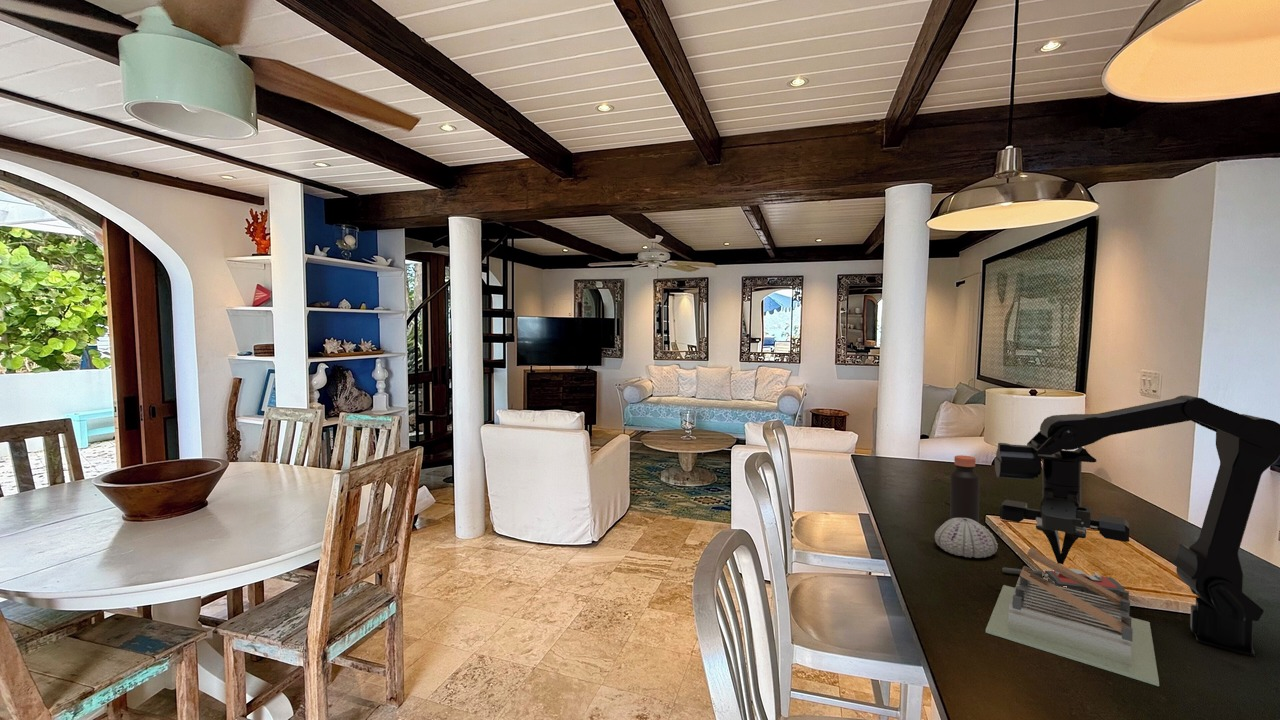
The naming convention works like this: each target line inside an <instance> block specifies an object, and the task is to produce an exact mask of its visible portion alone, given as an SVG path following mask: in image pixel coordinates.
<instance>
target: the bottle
mask: <svg viewBox="0 0 1280 720" xmlns="http://www.w3.org/2000/svg"><path fill="white" fill-rule="evenodd" d="M953 459H954V460H953V461H954V462H953V464H954V467H955V469H954V470H953V471H951V472H950V479H949V480H950V481H949V482H950V486H949V488H950V489H949V490H950V496H949V497H950V499H949V500H950V502H949V503H950V504H949V506H950V507H949V512H950V513H949V520H950V519H952V518H969V519H972V520H974V521H976V522H978V523H979V524H980V476H979V475H978V474H977V473H976V472H975V468H976V458H975V456H970V455H964V454H963V455H961V454H960V455H955V456H954V457H953Z"/></svg>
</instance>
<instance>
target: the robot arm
mask: <svg viewBox="0 0 1280 720" xmlns="http://www.w3.org/2000/svg"><path fill="white" fill-rule="evenodd" d="M1190 421H1191V422H1193V423H1195V424H1197V425H1199V426H1201V427H1203V428H1205V429H1208V430H1210V431H1212V432H1215V447H1216V451H1217V455H1218V459H1219V467H1218V471H1217V474H1216V477H1215V482H1214V485H1213V487H1212V492H1211V495H1210V499H1209V502H1208V505H1207V510H1206V511H1205V512H1206V513H1205V516H1204V519H1203V522H1202V527H1201V529H1200V533H1199V537H1198V538H1197V540H1196V541H1195V542H1194V543H1193V544H1192V545H1190V546H1187V545H1185V544H1182V543H1181V544H1180V543H1179V544H1178V547H1177V556H1176V558H1175V559H1174V561H1173V562H1172V565H1174V566H1175V567H1176V569H1175V570H1176V575H1177V576H1178V577H1179V579H1180V580H1181V581H1182V582H1183V583H1184V584H1186V585H1187V586H1188V587H1189V589H1190V591H1191V592H1192V594H1194V595H1196V596H1195V605H1194V604H1192V605H1190V624H1189V625H1190V626H1189V627H1190V630H1191V633H1192V634H1194V636H1195V639H1196V641H1197V642H1199V643H1201V644H1204V645H1209V646H1212V647H1217V648H1219V649H1224V650H1228V651H1232V652H1236V653H1239V654H1243V655H1247V656H1251V657H1256V652H1255V650H1254V648H1253V640H1254V639H1253V638H1254V637H1253V633H1254V622H1259V620H1260V619H1261V617H1262V616H1263V614H1264V609H1263V608H1262V607H1261V606H1259V605H1258V604H1257V603H1256V602H1255V601H1254V600H1252V599H1251V598H1250V597H1249V596H1247V595H1246V594H1245V593H1244V572H1243V568H1242V563H1241V560H1240V556H1239V555H1240V554H1239V553H1240V552H1239V551H1240V549H1241V545H1242V541H1243V538H1244V534H1245V531H1246V528H1247V524H1248V523H1249V519H1250V514H1251V511H1252V507H1253V505H1254V502H1255V498H1256V495H1257V492H1258V488H1259V485H1260V481H1261V478H1262V475H1263V474H1264V472H1265V471H1267V470H1268V469H1269V468H1270V467H1271V466H1272V465H1274V464H1275V463H1276V462H1277V461H1278V460H1279V459H1280V423H1278V422H1276V421H1274V420H1271V419H1267V418H1263V417H1259V416H1254V415H1248V414H1246V413H1245V414H1244V413H1239V412H1236V411H1234V410H1231V409H1227V408H1225V407H1222V406H1220V405H1217V404H1214V403H1212V402H1209V401H1208V400H1207V399H1206V398H1205V399H1204V398H1202V397H1198V396H1197V397H1196V396H1191V395H1187V394H1185V395H1179V396H1176V397H1175V398H1170V399H1169V398H1168V399H1165V400H1160V401H1155V402H1154V401H1153V402H1150V403H1144V404H1140V405H1135V406H1129V407H1125V408H1124V407H1123V408H1119V409H1114V410H1109V411H1105V412H1099V413H1071V414H1055V415H1051V416H1050V415H1049V416H1047V417H1045V418H1044V419H1043V421H1042V422H1041V423H1040V427H1039V431H1038V432H1037V433H1036V434H1035V435H1034V436H1033V437H1032V438H1031V439H1030V440H1029V441H1028V442H1027V444H1026V445H1025V444H1023V445H1022V444H1012V443H1006V442H998V444H997V449H996V454H995V456H994V470H995V474H996V475H995V476H996V477H997V478H1000V479H1011V480H1021V481H1022V480H1024V481H1034V480H1035V478H1036V479H1037V478H1039V476H1040V475H1041V473H1042V478H1041V480H1042V482H1041V484H1042V490H1041V494H1042V495H1041V501H1040V504H1039V505H1040V506H1039V507H1040V508H1039V509H1036V508H1029V507H1028V503H1027V502H1024V501H1018V500H1010V499H1005V500H1004V501H1002V503H1001V505H1000V506H999V519H1000V520H1003V521H1008V522H1009V521H1010V522H1015V523H1020V522H1022V521H1023V520H1024V519H1025V518H1026V519H1030V520H1031V519H1032V520H1035V522H1036V524H1035V529H1036V531H1037V530H1038V531H1041V532H1043V534H1044V535H1045V537H1046V538H1047V540H1048V542H1049V544H1050V546H1051V549H1052V552H1053V555H1054V557H1055V560H1056V563H1058V564H1060V565H1064V563H1065V561H1066V559H1067V556H1068V554H1069V553H1070V550H1071V548H1072V547H1073V545H1074V544H1075V542H1076V541H1077V540H1078V539H1086V538H1087V531H1088V529H1089V530H1094V531H1099V534H1100V535H1101V536H1102V537H1103V538H1104V539H1106V540H1107V539H1108V540H1113V541H1118V542H1124V543H1127V542H1128V543H1129V542H1130V523H1129V521H1128V520H1126V519H1125V518H1123V517H1119V516H1117V517H1116V516H1112V515H1105V514H1099V519H1095V518H1092V516H1091V508H1090V507H1084V506H1082V464H1083V463H1097V461H1098V460H1097V458H1095V457H1093V456H1092V455H1091V454H1090V453H1089V451H1088V450H1087V448H1084V447H1086V446H1088V445H1089V446H1090V445H1092V444H1094V443H1096V442H1098V441H1100V440H1102V439H1104V438H1107V437H1111V436H1114V435H1118V434H1119V435H1120V434H1125V433H1130V432H1135V431H1140V430H1141V431H1142V430H1146V429H1152V428H1157V427H1158V428H1159V427H1162V426H1169V425H1173V424H1179V423H1186V422H1190ZM1059 532H1062V533H1064V537H1063V542H1062V547H1061V543H1060V536H1059Z"/></svg>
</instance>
